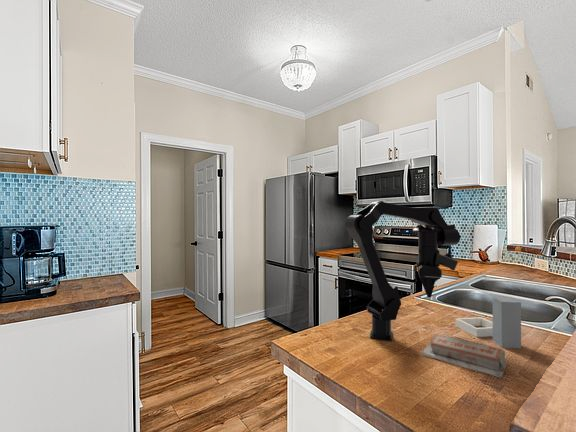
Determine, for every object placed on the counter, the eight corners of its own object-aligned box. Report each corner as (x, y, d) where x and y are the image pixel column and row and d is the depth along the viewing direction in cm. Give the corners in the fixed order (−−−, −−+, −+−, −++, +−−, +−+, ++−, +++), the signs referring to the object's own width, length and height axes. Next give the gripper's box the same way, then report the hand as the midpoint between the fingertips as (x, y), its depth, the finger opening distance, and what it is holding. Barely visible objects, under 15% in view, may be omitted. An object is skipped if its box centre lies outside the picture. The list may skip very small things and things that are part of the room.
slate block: (501, 347, 86) (501, 301, 86) (492, 340, 91) (492, 297, 91) (521, 348, 86) (521, 302, 86) (511, 341, 91) (510, 297, 91)
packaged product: (507, 345, 78) (502, 359, 70) (507, 364, 78) (502, 380, 70) (432, 328, 89) (421, 338, 82) (432, 344, 90) (421, 356, 82)
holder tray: (476, 337, 94) (476, 329, 94) (455, 325, 103) (455, 318, 103) (504, 335, 95) (504, 327, 95) (481, 324, 105) (481, 317, 105)
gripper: (461, 249, 88) (461, 303, 88) (451, 244, 105) (451, 289, 105) (419, 248, 92) (419, 300, 92) (416, 243, 109) (416, 286, 109)
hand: (428, 293), depth 100 cm, fingers open, 9 cm apart
